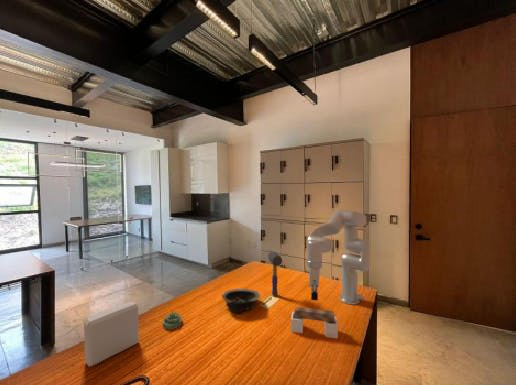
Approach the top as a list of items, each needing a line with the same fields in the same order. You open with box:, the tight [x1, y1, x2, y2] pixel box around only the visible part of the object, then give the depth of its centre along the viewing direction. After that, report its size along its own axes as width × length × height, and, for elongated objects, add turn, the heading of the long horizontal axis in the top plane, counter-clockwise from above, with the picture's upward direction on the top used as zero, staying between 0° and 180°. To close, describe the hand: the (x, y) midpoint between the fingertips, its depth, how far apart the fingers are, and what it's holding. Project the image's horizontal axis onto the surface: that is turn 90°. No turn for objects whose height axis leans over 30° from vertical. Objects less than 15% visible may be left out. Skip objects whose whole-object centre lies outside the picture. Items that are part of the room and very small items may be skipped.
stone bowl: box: [221, 288, 261, 313], centre depth 150 cm, size 25×25×9 cm
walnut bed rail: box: [294, 306, 335, 324], centre depth 124 cm, size 20×4×7 cm, turn 77°
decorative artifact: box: [162, 311, 183, 331], centre depth 131 cm, size 10×7×10 cm
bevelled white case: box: [83, 300, 140, 367], centre depth 109 cm, size 21×8×20 cm, turn 141°
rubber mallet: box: [267, 250, 283, 297], centre depth 163 cm, size 12×8×30 cm, turn 14°
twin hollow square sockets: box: [290, 311, 339, 340], centre depth 124 cm, size 24×7×7 cm, turn 77°
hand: (314, 295), depth 124 cm, fingers open, 9 cm apart
